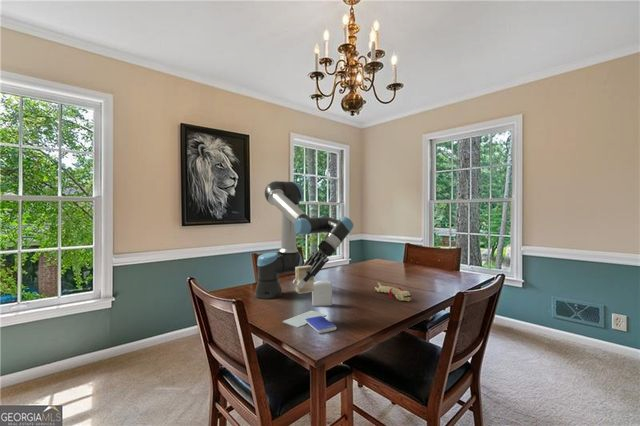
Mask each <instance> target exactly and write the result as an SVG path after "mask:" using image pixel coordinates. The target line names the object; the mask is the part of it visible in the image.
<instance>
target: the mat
mask: <svg viewBox="0 0 640 426" xmlns="http://www.w3.org/2000/svg"><path fill="white" fill-rule="evenodd" d="M318 316H323V317H324V318H325V317H326V316H327V314H324V313H322V312H318V311H315V310H309V311H306V312H303V313H301V314H299V315H296V316H293V317H291V318H290V317H289V318H288V319H284V320H282V323H284V324H286V325H289V326H291V327H294V328H296V329H298V328H301V327H303V326H306V325H308V324H307V323H306V322H305V319H307V318H312V317H318Z"/></svg>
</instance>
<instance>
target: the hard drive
mask: <svg viewBox="0 0 640 426" xmlns="http://www.w3.org/2000/svg"><path fill="white" fill-rule="evenodd" d="M305 322H306V323H307V324H306V325H309V326H310V327H311V328H312V329H313V330H314V331H315V332H317V333H318V334H323V333H328V332H331V331H336V330H337V325H335V324H334V323H333V322H332V321H330V320H328V319H327V318H325V317H323V316H318V317H312V318H307V319H305Z"/></svg>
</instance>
